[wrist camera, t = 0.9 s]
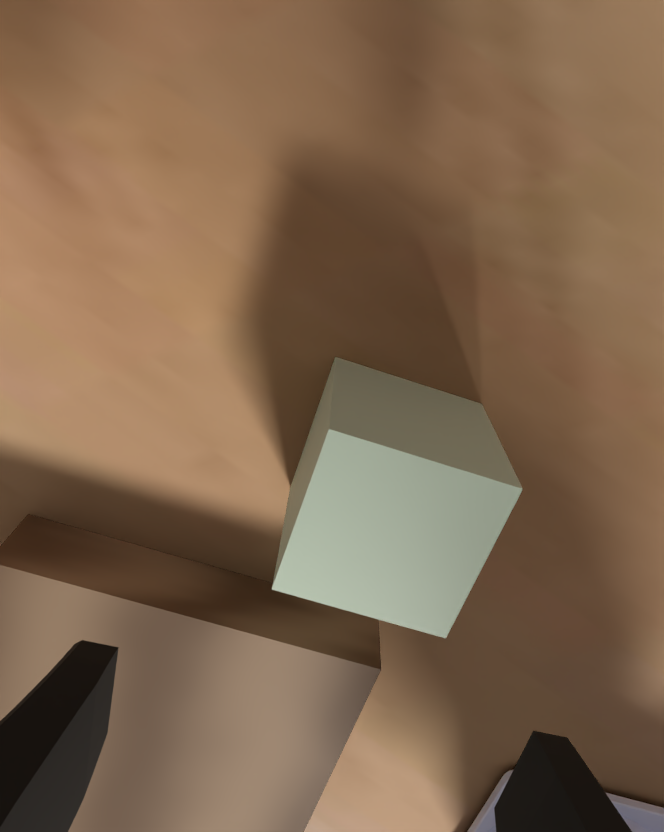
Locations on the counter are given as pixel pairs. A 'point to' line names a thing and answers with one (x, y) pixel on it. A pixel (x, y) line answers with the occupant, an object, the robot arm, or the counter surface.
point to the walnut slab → (188, 680)
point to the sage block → (394, 501)
